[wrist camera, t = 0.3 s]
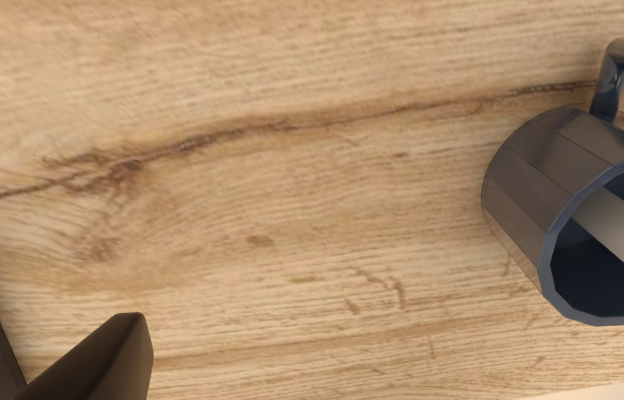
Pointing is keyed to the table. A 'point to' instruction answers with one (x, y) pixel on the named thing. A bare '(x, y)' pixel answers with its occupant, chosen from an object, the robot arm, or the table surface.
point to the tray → (9, 371)
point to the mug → (564, 199)
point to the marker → (603, 219)
